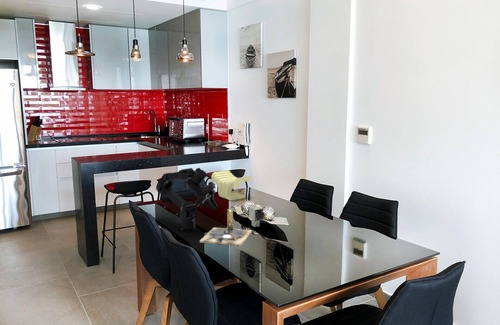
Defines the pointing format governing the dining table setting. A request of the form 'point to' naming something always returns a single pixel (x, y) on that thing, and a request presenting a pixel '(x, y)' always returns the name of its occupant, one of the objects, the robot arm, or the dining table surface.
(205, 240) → the sprocket base
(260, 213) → the pneumatic valve
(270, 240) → the dining table surface
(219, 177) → the slatted curved stool
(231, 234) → the sprocket
